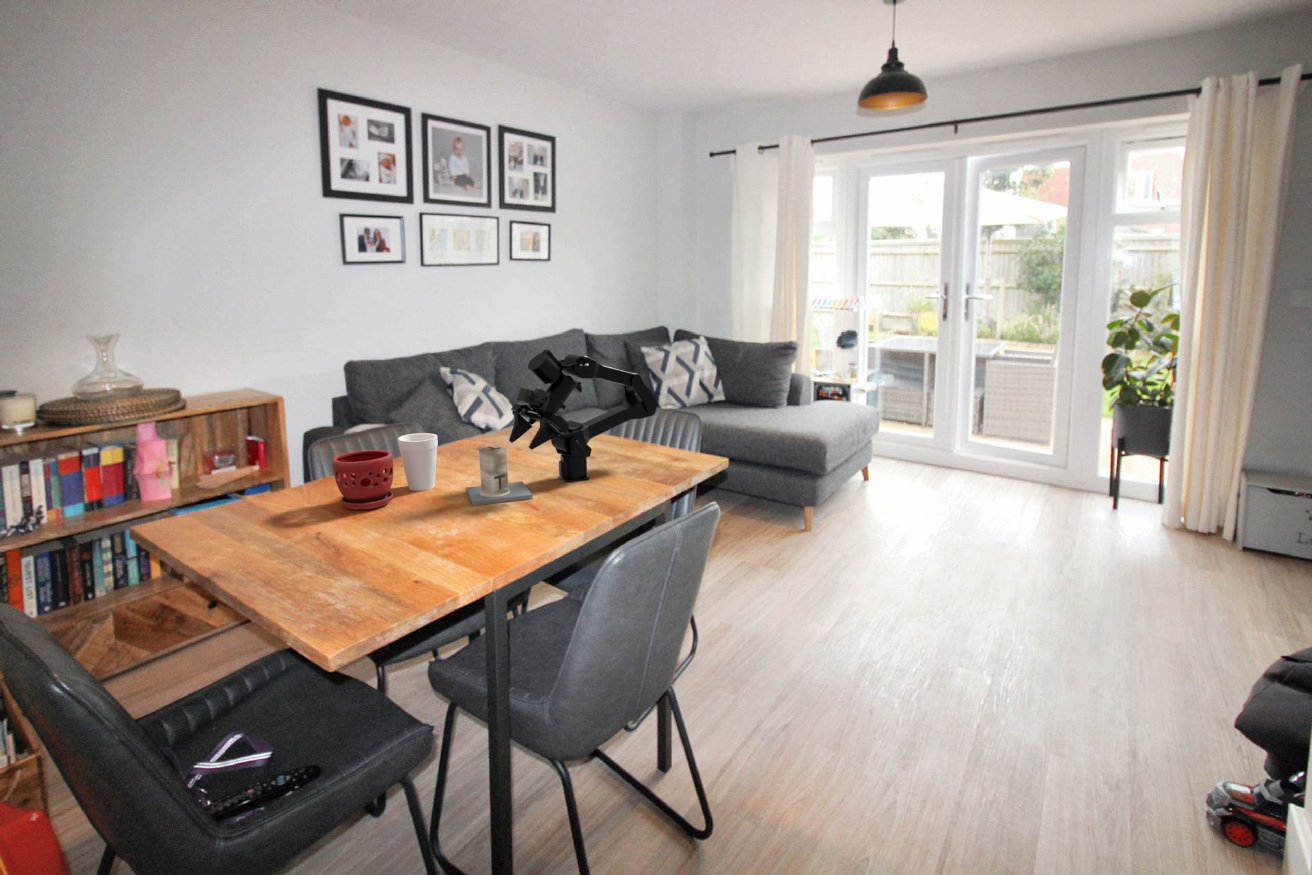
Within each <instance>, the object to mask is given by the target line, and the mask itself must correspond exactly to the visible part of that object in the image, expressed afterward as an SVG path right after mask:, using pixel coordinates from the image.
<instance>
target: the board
mask: <svg viewBox="0 0 1312 875" xmlns="http://www.w3.org/2000/svg"><path fill="white" fill-rule="evenodd" d="M508 491H509V492H507V493H503V494H500V495H496V496H490V495H487V494H485V493H482V490H481V485H476V486H468V487H465V492H466V494H467V496H468V498H469V500H470V503H471V504H472V506H473V507H474V506H481V505H482V506H483V505H491V504H499V503H506V502H514V501H515V502H517V501H524V500H532V499H533V493H532V492H531V491H530V489H529V488H528V486H526V485H525V483H524V481H521V480H520V481H512V482H508Z"/></svg>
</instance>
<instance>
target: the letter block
mask: <svg viewBox="0 0 1312 875" xmlns="http://www.w3.org/2000/svg"><path fill="white" fill-rule="evenodd" d="M478 453H479V455H478V456H479V469H480V470H479V471H480V484H481V485H480V486H481V490H482V493H485V494H487V495H490V496H496V495H500V494H503V493H507V492H509V491H508V483H509V478H508V477H509V476H508V474H509V473H508V458H507V457H508V456H507V448H506V447H503V446H499V445H497V444H494V445H489V446H484V447H480V448H478Z"/></svg>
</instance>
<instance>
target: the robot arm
mask: <svg viewBox="0 0 1312 875" xmlns="http://www.w3.org/2000/svg"><path fill="white" fill-rule="evenodd" d="M527 368H528V370H529V371H530V372H531V373H532V374H533V375H534V376H535V377H536V378H537V379H538V380H539V381H540V382H541V383H542V384H543V385H548V384H549V385H548V386H547V388H546V389H545V390H544V389H541V388H537V387H536V388H535V389H534V390H532V389H529V388H524V387H520V388H519V391H518V394H517V397H516V401H519V402H515V403H514V404H513V406H512V407H511V408H510V411H512V412H511V413H512V415H513V417H514V418H513V419H514V422H513V425H512V426H513V427H512V429H511V433H510V436H509V439H508V441H509V442H510V443H511V444H512V443H513V444H514V442H516V441H517V440H519V439H520V438H521V437H522V436H523V435H525V434H526V433H527V432H528V431H530V429H532V428H533V427H534V426H533V425H534V424H536V423H537V422H539V427H538V430H537V432H536V433H535V435H534V436H533V438H532V440H531V441H530V443H529V445H528V449H530V450H532V451H533V450H534V449H536V448H538V447H540V446H541V445H543V444H545V443H547V442H548V441H551V442H550V443H551V445H552V447H554V449H555V451H556V453H557V454H559V455H560V460H559V461H558V475H559V477H560V478H561V479H562V481H564V482H567V483H569V482H576V481H577V482H578V481H586V480H589V479H590V476H589V475H588V461H587V460H588V458H590V457H591V455H592V454H591V453H592V447H590V445H588V444H589V442H590V440H591V439H593V438H595V437H597V436H600V435H601V434H604V433H606V432H608V431H611V430H613V429H614V428H616V427H619V426H620V425H622V424H624V423H627V422H628V421H632V420H641V419H647V418H650V417H652V416H654V415H655V414H656V412H657V409H658V403H657V400H656V398H655V397H654V395H653V393H652V392H653V391H651V389H649V387H648V386H647V385H646V384H645V383H644V380H643V378H642V377H641V375H640V374H639V373H637V372H632V371H626V370H621V369H618V368H614V367H610V366H606V365H603V364H601V363H600V362H598V361H597V360H595V359H593V358H591V357H590V356H587V355H582V354H574V353H569V354H567V355H566V356H565V358H563V359H559V360H558V359H557V358H556V356H554V354H553V352H552V351H551V350H549V349H543V350H542V352H540V353H538V354H536V355H535V356H534V357H532V358H531V359H530V361H529V362H528V365H527ZM573 377H574V378H579V379H599V380H603V381H607V382H610V383H615V384H618V385H619V384H620V385H622V387H623V397H624V400H623V402H622V403H621V405H620V406H617V407H616V408H613V409H611V410H608V411H606V412H604V413H601V414H599V415H598V416H596V417H593V418H591V419H589V420H586V421H584V422H583V423H582V422H577V421H574V420H570V419H569V420H568V421H567V420H566V419H565V418H564V417H563V416H562V415H561V414H560V413H559V412H560V410H563V411H564V410H565V409H566V408H567V406H566V405H565V404H566V402H567V401H568V399H569V398H570V397H571V395H572V393H573V392H575V393H583V389H582V382H581V381H578V380H575V379H574V378H573ZM520 401H521V402H520ZM522 402H525V403H522Z"/></svg>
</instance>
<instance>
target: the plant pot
mask: <svg viewBox="0 0 1312 875" xmlns="http://www.w3.org/2000/svg"><path fill="white" fill-rule="evenodd" d="M393 460H394V459H393V454H392V452H390V451H388V450H382V449H381V450H379V449H374V450H373V449H372V450H370V449H368V450H367V449H366V450H359V451H353V452H347V453H343V454H339V455H337V456H335V457H334V458H332V461H331V462H332V470H333V474H334V479H335V480H334V481H335V484H336V486H337V489H338V491H339V492H340V494H341V496H342V497H341V499H340V503H341V505H342V506H343V507H345V508H348V509H351V510H357V511H358V510H370V509H376V508H381V507H383V506H385V505H387V504H388V503H390V502H391V501H392V500H393V498H394V493H393V492H392V491H390V490H391V488H392V484H393V480H394V461H393Z"/></svg>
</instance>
